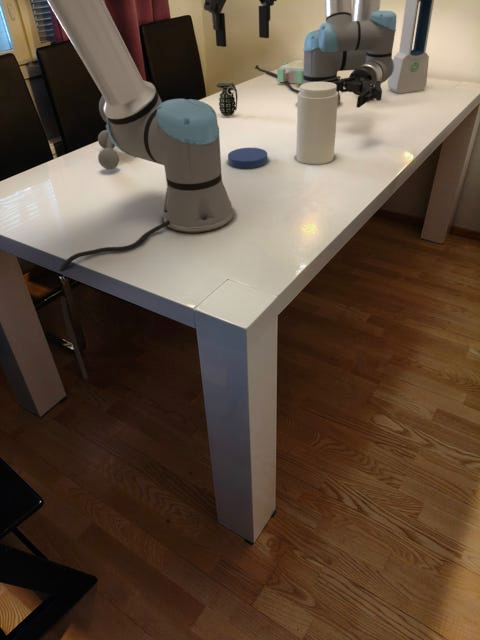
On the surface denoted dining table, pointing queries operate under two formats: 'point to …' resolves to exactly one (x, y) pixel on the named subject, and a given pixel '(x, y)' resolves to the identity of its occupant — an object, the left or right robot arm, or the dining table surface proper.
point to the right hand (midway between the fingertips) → (334, 99)
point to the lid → (247, 158)
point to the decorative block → (291, 72)
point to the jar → (316, 122)
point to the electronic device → (413, 62)
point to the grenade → (227, 99)
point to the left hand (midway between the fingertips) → (243, 41)
